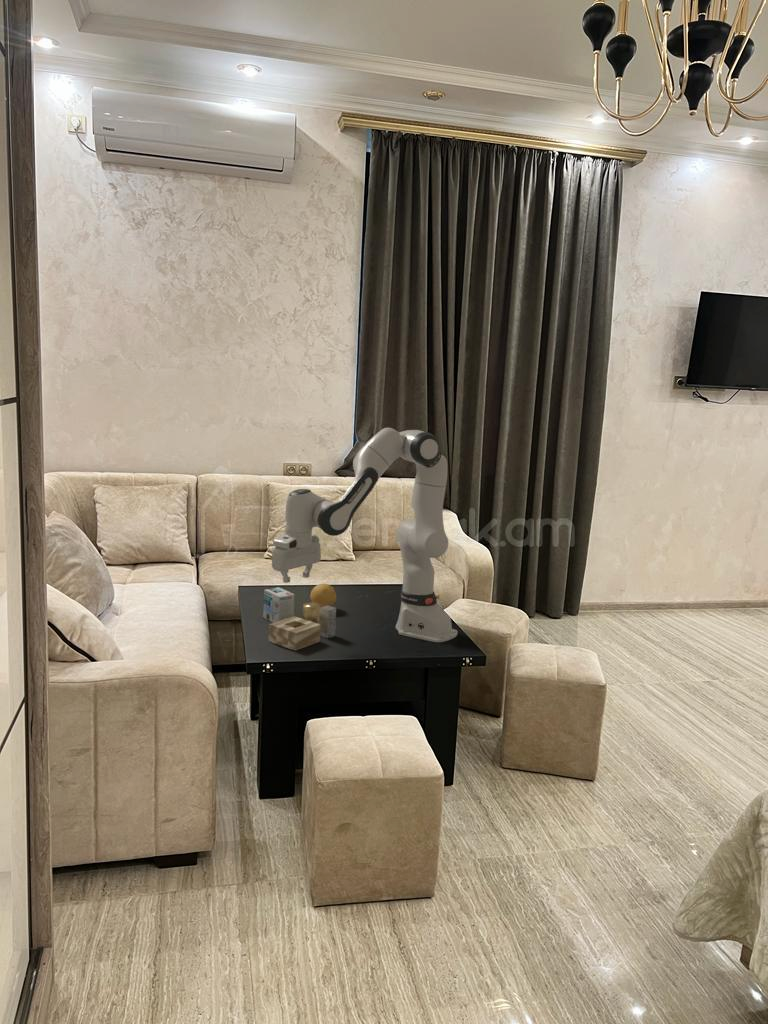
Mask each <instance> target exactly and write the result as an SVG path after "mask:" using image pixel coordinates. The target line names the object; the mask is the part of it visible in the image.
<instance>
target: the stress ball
mask: <svg viewBox="0 0 768 1024" xmlns="http://www.w3.org/2000/svg"><path fill="white" fill-rule="evenodd" d="M309 597H310V603H317V604H320V608H321V607H324V606H327V605H328V606H331V607H334V604H335V602H336V601H337V592H336V590H335V588H334V587H333V586H332V585H330V584H327V583H319V584H317V585H316V586H314V587H313V588H312V590H311V592H310V595H309Z"/></svg>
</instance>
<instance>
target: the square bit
mask: <svg viewBox="0 0 768 1024" xmlns="http://www.w3.org/2000/svg"><path fill="white" fill-rule="evenodd" d="M336 620H337V607H334V606H332V607H331V606H328V605H327V606H324V607H321V608H320V613H319V624H320V638H321V637H322V638H324V639H329V638H333V637H335V636H336V623H337V622H336Z"/></svg>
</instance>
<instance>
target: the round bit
mask: <svg viewBox="0 0 768 1024" xmlns="http://www.w3.org/2000/svg"><path fill="white" fill-rule="evenodd" d="M302 604H303V605H302V619H305V620H308V621H311V622H314V623H317V624H319V613H320V604H317V603H312V602H305V603H302Z"/></svg>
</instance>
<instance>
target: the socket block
mask: <svg viewBox="0 0 768 1024" xmlns="http://www.w3.org/2000/svg"><path fill="white" fill-rule="evenodd" d="M320 640H321V636H320V624H317V623H314V622H311V621H308V620H305V619H303V618H301V617H298V616H295V615H294V616H293V617H290V618H287V619H284V620H281V621H278V622H275V623H272V622H271V623H270V624H268V642H269V643H272V644H275V645H278V646H280V647H284V648H287V649H289V650H293V651H298V650H300V649H301V650H302V649H304V648H306V647H309V646H311V645H315V644H317V643H319V642H320Z"/></svg>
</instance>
